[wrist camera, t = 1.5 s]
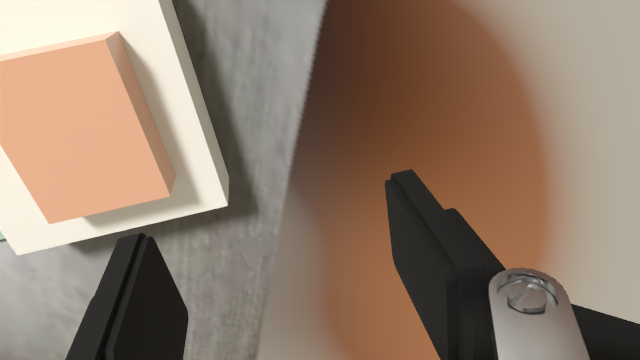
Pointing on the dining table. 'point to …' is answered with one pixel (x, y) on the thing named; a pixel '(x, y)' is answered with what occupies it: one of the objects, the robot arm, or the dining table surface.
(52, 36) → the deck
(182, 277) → the dining table surface
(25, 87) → the tile
